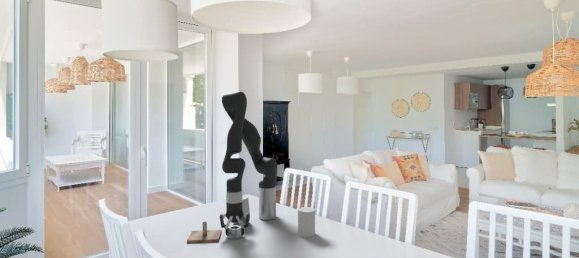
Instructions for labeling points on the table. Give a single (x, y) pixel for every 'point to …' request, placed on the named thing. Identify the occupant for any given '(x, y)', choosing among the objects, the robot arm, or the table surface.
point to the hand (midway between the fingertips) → (234, 235)
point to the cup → (306, 222)
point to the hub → (234, 232)
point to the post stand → (204, 235)
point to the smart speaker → (244, 211)
